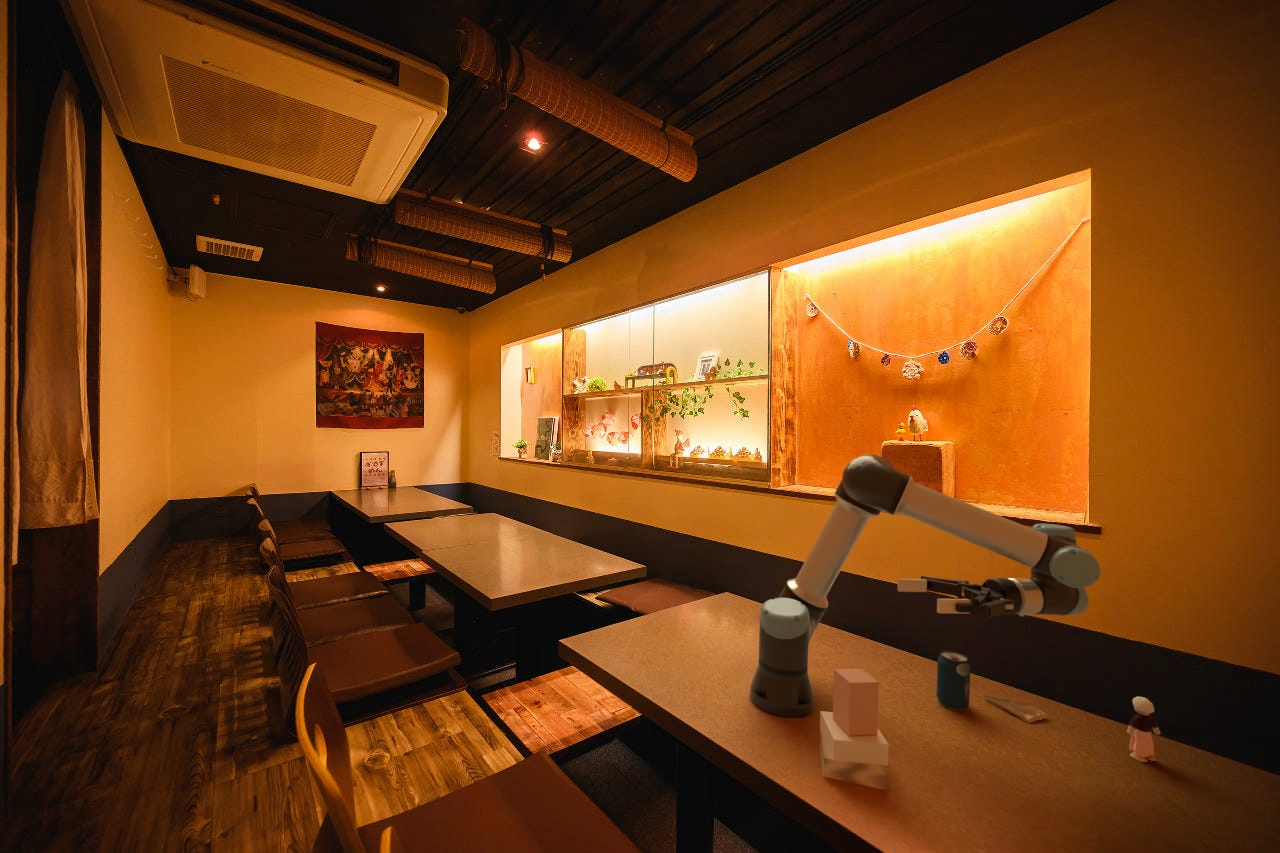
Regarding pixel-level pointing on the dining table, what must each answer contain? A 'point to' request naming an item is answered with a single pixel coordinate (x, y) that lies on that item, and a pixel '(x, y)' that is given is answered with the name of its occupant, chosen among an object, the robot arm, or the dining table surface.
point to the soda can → (953, 680)
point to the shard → (1018, 709)
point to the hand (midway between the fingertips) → (916, 594)
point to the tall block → (855, 702)
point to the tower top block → (853, 744)
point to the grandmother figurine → (1142, 730)
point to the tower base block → (852, 770)
